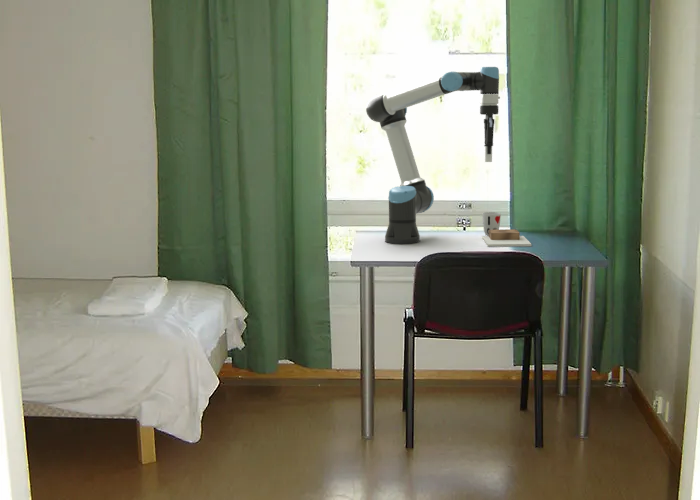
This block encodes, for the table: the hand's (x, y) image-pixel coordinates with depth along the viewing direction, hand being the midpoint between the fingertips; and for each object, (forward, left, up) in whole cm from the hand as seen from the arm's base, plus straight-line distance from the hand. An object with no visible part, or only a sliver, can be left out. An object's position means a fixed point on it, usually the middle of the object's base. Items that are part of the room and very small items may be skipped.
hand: (488, 161), depth 359 cm
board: (+8, 0, -32) cm, 33 cm away
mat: (+8, 0, -34) cm, 35 cm away
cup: (+4, +18, -35) cm, 39 cm away
